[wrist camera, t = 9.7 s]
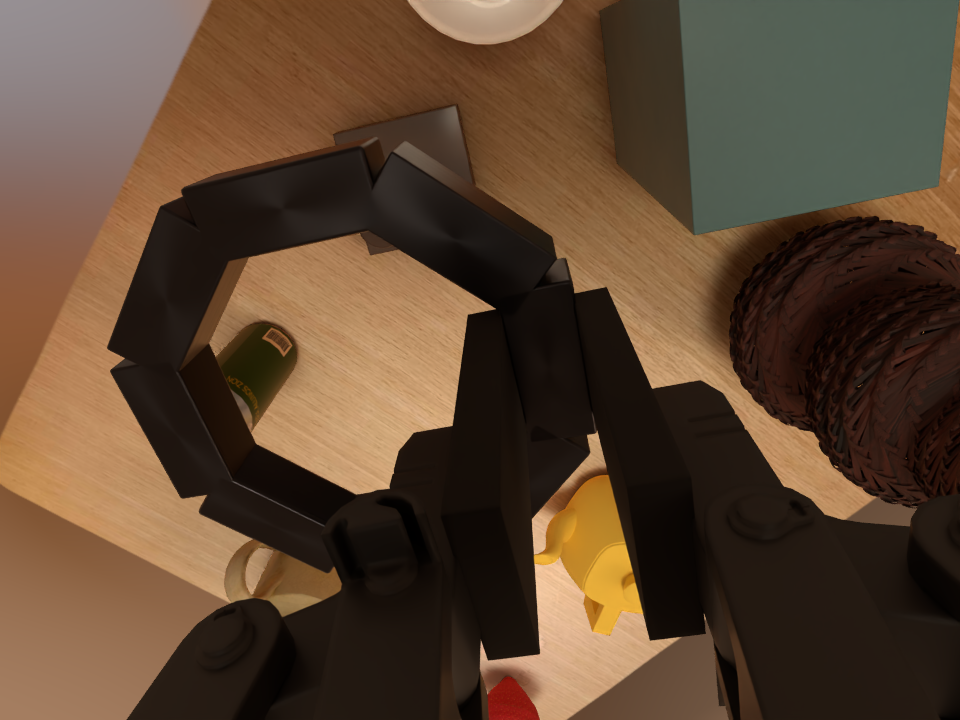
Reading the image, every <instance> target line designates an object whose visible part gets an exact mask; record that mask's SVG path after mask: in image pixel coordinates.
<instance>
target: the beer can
mask: <svg viewBox="0 0 960 720" xmlns="http://www.w3.org/2000/svg"><path fill="white" fill-rule="evenodd" d="M216 359H217V361H218V363H219V366H220V368H221V370H222V372H223V374H224V376H225V378H226V381H227V383H228V385H229V387H230V389H231V391H232V393H233V396H234V398H235V400H236V402H237V404H238V406H239V408H240V411H241V413H242V415H243V417H244V419H245V421H246V423H247V425H248V428H249V430H250V432H252V430H253V429H254V427H255V426H256V424H257V423H258V422H259V420H260V419H261V417H262V416H263V414H264V413H265V411H266V410H267V408H268V407H269V405H270V404H271V402H272V401H273V399H274V398H275V396H276V395H277V393H278V392H279V390H280V389H281V387H282V386H283V384H284V383H285V381H286V380H287V378H288V377H289V376H290V374H291V373H292V371H293V370H294V367H295V365H296V362H297V351H296V347H295V344H294V341H293V340H292V339H291V337H290V336H289V334H288V333H286V332H285V331H284V330H283V329H281V328H279V327H277V326H275V325H271V324H265V323H260V324H253V325H250V326H248V327H246V328H244V329H242V330H241V331H240V332H239V334H238V335H237V336H236V337H235V338H234V339H233V340H232V341H231V342H230V343H229V344H228V345H227V346H226V347H225V348H224V349H223V350H222V351H221V352H220V353H219V354H218V355H217V356H216Z"/></svg>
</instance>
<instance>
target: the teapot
mask: <svg viewBox="0 0 960 720" xmlns="http://www.w3.org/2000/svg"><path fill="white" fill-rule="evenodd" d="M559 557H560V558H561V560H562V563H563V565H564V567H565V569H566V570H567V572H568V573H569V575H570V576H571V578H572V579H573V580H574V582H575V583H576V584H577V586H578V587H579V588H580V589H581V590H582V591H583V592H584V593H585V599H584V606H585V610H586V613H587V616H588V619H589V622H590V626H591V629H592V632H596V633H601V634H605V635H609V636H610V634H611V632H612V630H613V628H614V626H615V624H616V622H617V619H618V617H619V615H620V613H621V611H625V612H631V613H641V614H643V611H642V607H641V603H640V599H639V595H638V591H637V587H636V583H635V579H634V575H633V571H632V567H631V563H630V559H629V555H628V551H627V547H626V543H625V539H624V535H623V531H622V527H621V523H620V519H619V515H618V511H617V507H616V503H615V499H614V495H613V491H612V487H611V483H610V479H609V475H601V476H596V477H593V478H591V479H589V480H587V481H586V482H585V483H584V484H583V485H582V486H581V487H580V488H579V489H578V491H577V492H576V493H575V494H574V496H573V497H572V499H571V500H570V502H569V503H568V505H567V507H566V508H565V509H564V510H562V511H560V512H558V513H557V514H556V515H555V516H554V517H553V518H552V520H551V521H550V523H549V525H548V528H547V531H546V549H545V550H544V551H543V552H541V553H539V554H535V555H534V563H535V564H540V565H548V564H552V563H554V562H556V561H557V560H558V559H559Z"/></svg>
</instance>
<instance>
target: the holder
mask: <svg viewBox="0 0 960 720" xmlns="http://www.w3.org/2000/svg"><path fill="white" fill-rule="evenodd" d="M373 136H374V137H378V139H379V140H380V144H381V147H382V151H383V154H384V158H385V161H386V160H387V158H388V156H389V154H390V152H391V151H393V150H394V149H395V148H396V147H398V146H399V145H400V144H401V143H403V142H404V141H407V142H408V143H410V144H411V145H413V146H414V147H416V148H417V149H419V150H421V151H422V152H424V153H425V154H427V155H428V156H430V157H431V158H433V159H434V160H436V161H437V162H439V163H440V164H442V165H443V166H445V167H447V168H448V169H450V170H451V171H453V172H454V173H456V174H457V175H459V176H460V177H462V178H463V179H465V180H466V181H468V182H469V183H471V184H472V185H474V186H476V185H475V181H474V176H473V172H472V167H471V163H470V158H469V154H468V149H467V144H466V140H465V135H464V131H463V126H462V122H461V117H460V112H459V108H458V104H453V105H449V106H445V107H441V108H437V109H432V110H428V111H424V112H420V113H416V114H412V115H407V116H403V117H399V118H395V119H391V120H387V121H382V122H378V123H374V124H370V125H366V126H361V127H357V128H353V129H349V130H345V131H341V132H337V133H335V134H333V137H334V140H335V143H336V145H340V144H344V143H348V142H353V141H357V140H361V139H365V138H369V137H373ZM360 234H361V236H362V237H363V239H364V240H365V241H366V243H367V247H368V250H369V253H370V255H374V254H379V253H384V252H389V251H393V250H398V249H397V248H396V247H394V246H392V245H391V244H389V243H388V242H386V241H384V240H383V239H381V238H379V237H378V236H376V235H374V234H373V233H371V232H369V231H368V232H363V233H360Z"/></svg>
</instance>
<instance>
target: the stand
mask: <svg viewBox="0 0 960 720" xmlns="http://www.w3.org/2000/svg"><path fill="white" fill-rule="evenodd" d="M958 7H959V0H620V1H618V2H616V3H614V4H612V5H610V6H608V7H606V8H604V9H602V10H600V11H599V12H600V21H601V29H602V38H603V46H604V55H605V64H606V72H607V81H608V89H609V98H610V107H611V115H612V124H613V132H614V141H615V149H616V158H617V164H618V165H619V166H620V167H621V168H622V169H623V170H625V171H626V172H627V173H628V174H629V175H630V176H631V177H632V178H633V179H634V180H635V181H636V182H637V183H639V184H640V185H641V186H642V187H643V188H644V189H645V190H646V191H647V192H648V193H649V194H650V195H651V196H653V197H654V198H655V199H656V200H657V201H658V202H659V203H660V204H661V205H662V206H663V207H664V208H665V209H666V210H668V211H669V212H670V213H671V214H672V215H673V216H674V217H675V218H676V219H677V220H678V221H679V222H680V223H682V224H683V225H684V226H685V227H686V228H687V229H688V230H689V231H690V232H691V233H692V234H693V235H699V234H704V233H709V232H714V231H719V230H724V229H729V228H734V227H739V226H744V225H749V224H754V223H759V222H764V221H769V220H774V219H779V218H784V217H789V216H794V215H799V214H804V213H809V212H814V211H819V210H824V209H829V208H834V207H838V206H843V205H848V204H853V203H858V202H863V201H868V200H873V199H878V198H883V197H888V196H893V195H898V194H903V193H908V192H913V191H918V190H923V189H928V188H933V187H938V186H939V178H940V169H941V160H942V151H943V142H944V133H945V124H946V115H947V106H948V97H949V88H950V79H951V70H952V61H953V52H954V43H955V34H956V25H957V16H958Z"/></svg>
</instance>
